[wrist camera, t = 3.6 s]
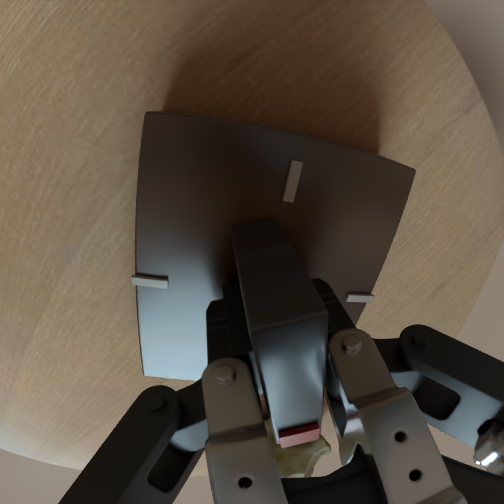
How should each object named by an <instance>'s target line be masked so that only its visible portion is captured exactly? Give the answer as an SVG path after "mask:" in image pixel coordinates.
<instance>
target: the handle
mask: <svg viewBox="0 0 504 504" xmlns="http://www.w3.org/2000/svg"><path fill="white" fill-rule="evenodd" d="M231 235H232V241H233V247H234V253H235V258H236V264H237V270H238V276H239V281H240V287H241V292H242V298H243V303H244V309H245V314H246V320H247V325H248V330H249V335H250V339H251V343H252V348H253V352H254V356H255V361H256V365H257V369H258V373H259V377H260V382H261V386H262V390H263V394H264V398H265V402H266V406H267V410H268V414H269V418H270V423H271V427H272V430H273V434H274V438H275V442H276V444H281V448H285V447H289V446H294V445H298V444H302V443H306V442H310V441H314V440H317V439H319V434H320V433H321V424H322V414H323V403H324V390H325V376H326V359H327V337H328V311H327V309H326V307H325V305H324V303H323V301H322V300H321V298H320V296H319V294H318V292H317V290H316V288H315V287H314V285H313V283H312V281H311V279H310V277H309V276H308V274H307V272H306V270H305V268H304V267H303V265H302V263H301V261H300V259H299V258H298V256H297V254H296V252H295V250H294V249H293V247H292V245H291V243H290V242H289V240H288V238H287V236H286V235H285V233H284V231H283V229H282V228H281V226H280V224H279V222H278V221H277V219H275V218H274V219H268V220H263V221H258V222H253V223H247V224H242V225H237V226H233V227H231Z"/></svg>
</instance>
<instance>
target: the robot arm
mask: <svg viewBox="0 0 504 504" xmlns="http://www.w3.org/2000/svg"><path fill="white" fill-rule="evenodd" d="M311 281H312V283H313V285H314V287H315V288H316V290H317V292H318V294H319V296H320V298H321V300H322V301H323V303H324V305H325V307H326V309H327V311H328V337H327V359H326V376H325V388H326V391H325V397H326V401H327V404H328V407H329V410H330V414H331V417H332V421H333V424H334V427H335V431H336V434H337V438H338V442H339V452H340V459H341V463H342V467H341V468H339V469H338V470H336V471H334V472H333V473H331V474H329V475H327V476H323V477H305V478H281V477H280V473H279V470H278V467H277V464H276V461H275V457H274V454H273V451H272V447H271V444H270V440H269V437H268V434H267V430H266V427H265V423H264V420H263V416H262V405H261V400H260V396H259V395H263V390H262V386H261V382H260V377H259V373H258V369H257V365H256V361H255V356H254V352H253V348H252V343H251V339H250V335H249V330H248V325H247V320H246V314H245V309H244V303H243V298H242V292H241V287H240V281H239V282H235V283H230V284H225V285H222V291H223V299H218V300H213V301H211V302H210V304H209V306H208V307H207V309H206V330H207V331H206V336H207V360H208V364H207V367H206V368H205V369H204V371H203V373H202V377H201V378H200V379H199V380H198V381H197V382H195V383H194V384H192V385H190V386H187V387H185V388H183V389H180V390H178V391H176V392H175V391H174V390H173V389H172V388H170V387H168V386H163V385H157V386H153V387H150V388H148V389H146V390H144V391H143V392H142V393H141V394H140V395H139V396H138V397H137V399H136V400H135V401H134V403H133V404H132V405H131V407H130V408H129V409H128V411H127V412H126V413H125V415H124V416H123V417H122V419H121V420H120V421H119V423H118V424H117V425H116V427H115V428H114V429H113V431H112V432H111V433H110V435H109V436H108V437H107V439H106V440H105V441H104V443H103V444H102V445H101V447H100V448H99V449H98V451H97V452H96V453H95V455H94V456H93V457H92V459H91V460H90V461H89V463H88V464H87V465H86V467H85V468H84V470H83V471H82V472H81V474H80V475H79V476H78V478H77V479H76V480H75V482H74V483H73V484H72V486H71V487H70V488H69V490H68V491H67V492H66V494H65V495H64V496H63V498H62V499H61V500H60V502H59V503H58V504H172V503H173V502H174V500H175V499H176V497H177V495H178V493H179V492H180V490H181V489H182V487H183V486H184V484H185V482H186V481H187V479H188V477H189V476H190V474H191V472H192V471H193V469H194V467H195V465H196V464H197V462H198V460H199V459H200V457H201V455H202V453H203V452H204V450H205V453H206V460H207V466H208V473H209V478H210V485H211V490H212V496H213V501H214V504H504V362H502V361H500V360H498V359H496V358H494V357H492V356H490V355H488V354H486V353H483V352H481V351H479V350H477V349H475V348H473V347H471V346H468V345H467V344H464V343H462V342H460V341H458V340H456V339H454V338H452V337H450V336H447V335H445V334H443V333H441V332H439V331H437V330H435V329H433V328H430V327H428V326H425V325H420V324H416V325H411V326H408V327H406V328H405V329H404V330H403V331H402V332H401V334H400V337H399V338H392V339H374V338H371V336H370V335H369V334H368V333H366V332H365V331H363V330H360V329H357V328H356V327H355V325H354V323H353V322H352V320H351V318H350V317H349V315H348V314H347V312H346V310H345V309H344V307H343V306H342V304H341V302H339V299H338V297H337V296H336V294H335V293H334V291H333V290H332V288H331V286H330V285H329V284H328V283H327V282H325V281H324V280H322V279H321V278H315V279H311ZM427 423H428V424H429V425H431V426H433V427H435V428H437V429H439V430H440V431H442V432H444V433H446V434H448V435H450V436H452V437H453V438H455V439H458V440H459V441H461V442H463V443H465V444H467V445H469V446H471V447H473V448H475V449H474V451H475V454H474V457H473V458H474V462H475V463H476V464H481V465H483V466H484V467H485V468H486V469H487V471H488V472H487V471H484V470H481V469H478V468H476V467H472V466H470V465H467V464H464V463H462V462H459V461H456V460H454V459H451V458H449V457H446V456H444V455H441V454H440V452H439V450H438V447H437V445H436V443H435V441H434V439H433V436H432V434H431V432H430V430H429V428H428V425H427Z"/></svg>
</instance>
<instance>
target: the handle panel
mask: <svg viewBox="0 0 504 504" xmlns="http://www.w3.org/2000/svg"><path fill="white" fill-rule="evenodd" d="M415 173H416V170H415V169H414V168H411V167H409V166H406V165H404V164H401V163H399V162H396V161H394V160H391V159H388V158H386V157H383V156H380V155H377V154H374V153H371V152H368V151H365V150H362V149H359V148H355V147H352V146H349V145H345V144H342V143H338V142H335V141H331V140H327V139H324V138H320V137H316V136H312V135H308V134H304V133H300V132H295V131H291V130H287V129H282V128H277V127H272V126H267V125H262V124H257V123H251V122H246V121H240V120H233V119H227V118H220V117H213V116H205V115H197V114H188V113H178V112H166V111H148V112H146V113H145V115H144V123H143V130H142V138H141V147H140V157H139V168H138V181H137V197H136V221H135V275H132V285H136V303H137V319H138V332H139V343H140V353H141V362H142V370H143V375H144V376H149V377H158V378H167V379H177V380H190V381H198V380H199V379H200V378H201V377H202V373H203V371H204V369H205V368H206V367H207V364H208V360H207V336H206V331H207V330H206V309H207V307H208V306H209V304H210V302H211V301H213V300H218V299H223V291H222V285H225V284H230V283H235V282H239V276H238V270H237V264H236V258H235V253H234V247H233V241H232V235H231V227H233V226H237V225H242V224H247V223H253V222H258V221H263V220H268V219H274V218H275V219H277V221H278V222H279V224H280V226H281V228H282V229H283V231H284V233H285V235H286V236H287V238H288V240H289V242H290V243H291V245H292V247H293V249H294V250H295V252H296V254H297V256H298V258H299V259H300V261H301V263H302V265H303V267H304V268H305V270H306V272H307V274H308V276H309V277H310V279H315V278H321V279H322V280H324V281H325V282H327V283H328V284H329V285H330V286H331V288H332V290H333V291H334V293H335V294H336V296H337V297H338V299H339V302H341V304H342V306H343V307H344V309H345V310H346V312H347V314H348V315H349V317H350V318H351V320H352V322H353V323H354V325H355V326H356V324H357V322H358V320H359V318H360V315H361V313H362V311H363V309H364V307H365V305H366V303H367V302H372V301H373V298H374V295H373V294H371V292H372V290H373V288H374V285H375V283H376V281H377V278H378V276H379V274H380V271H381V269H382V267H383V264H384V262H385V259H386V257H387V254H388V252H389V249H390V247H391V244H392V241H393V239H394V236H395V233H396V231H397V228H398V225H399V222H400V220H401V217H402V214H403V211H404V208H405V205H406V202H407V199H408V196H409V193H410V189H411V186H412V183H413V179H414V176H415Z"/></svg>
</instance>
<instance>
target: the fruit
mask: <svg viewBox="0 0 504 504" xmlns="http://www.w3.org/2000/svg"><path fill="white" fill-rule="evenodd" d="M264 423H265V427H266V430H267V434H268V437H269V440H270V444H271V447H272V451H273V454H274V457H275V461H276V464H277V467H278V470H279V473H280V477H281V478H305V477H311V474H312V473H313V471H314V466H315V465H316V463H317V461H318V460H319V459H320V458H321V457H323V456H325V455H327V454H329V453H330V452H331V446H330V444H329V443H328V442H327V441H326V440H325V438H324V437H323V436H322V435H321V434H319V439H317V440H314V441H310V442H306V443H302V444H298V445H294V446H289V447H285V448H281V444H276V442H275V438H274V434H273V430H272V427H271V423H270V418H269V419H266V420H264Z"/></svg>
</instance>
